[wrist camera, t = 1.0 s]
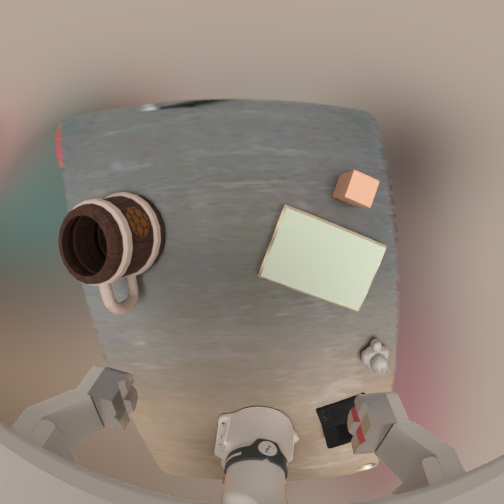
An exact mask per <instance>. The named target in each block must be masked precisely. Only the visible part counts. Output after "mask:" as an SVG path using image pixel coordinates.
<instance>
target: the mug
mask: <svg viewBox="0 0 504 504" xmlns="http://www.w3.org/2000/svg"><path fill="white" fill-rule="evenodd" d="M164 241H165V233H164V224H163V221H162V218H161V216H160V213H159V212H158V210H157V209H156V207H155V206H154V205H153V203H152V202H150V201H149V200H147V199H146V198H145V197H143V196H141V195H137V194H133V193H128V192H120V193H114V194H111V195H109V196H108V197H106V198H104V199H99V198H97V199H89V200H86V201H83V202H82V203H80V204H78V205H77V206H75V207H74V208H73V209H72V211H70V212H69V213H68V215H67V216H66V217H65V219H64V220H63V223H62V225H61V228H60V233H59V249H60V254H61V257H62V260H63V263H64V265H65V266H66V268H67V269H68V271H69V272H70V273H71V274H72V275H73V276H74V277H75V278H76V279H77V280H79V281H81V282H84V283H86V284H90V285H95V286H99V289H100V293H101V296H102V299H103V302H104V305H105V307H107V308H108V309H109V310H110V311H111V312H112V313H114V314H118V315H124V314H125V313H127V312H129V311H130V310H132V309H133V308H134V306H135V305H136V303H137V302H138V285H137V279H136V276H137V275H139V274H142V273H144V272H145V271H146V270H147V269H148V268H149V267H151V266H152V265H153V264H154V263H155V262H156V261H157V259H158V258H159V256H160V254H161V252H162V249H163V245H164ZM120 277H126V279H127V282H128V286H129V295H128V297H127V299H125V300H124V301H122V302H120V303H119V302H117V300H116V299H115V298H114V294H113V291H112V288H111V283H113V282H116V281H117V280H118V279H119V278H120Z"/></svg>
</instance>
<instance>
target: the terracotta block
mask: <svg viewBox="0 0 504 504" xmlns="http://www.w3.org/2000/svg"><path fill="white" fill-rule="evenodd" d="M378 184H379V181H378V180H376V179H374V178H371V177H369V176H367V175H365V174H363V173H361V172H358V171H356V170H352V171H349V172H346V173H343V174H341V175H340V176H339V179H338V182H337V184H336V187H335V190H334V193H333V195H332V197H333V198H336V199H338V200H341V201H343V202H345V203H348V204H350V205H352V206H358V207H368V208H370V207H371V205H372V202H373V199H374V196H375V193H376V190H377V187H378Z"/></svg>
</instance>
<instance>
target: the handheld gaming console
mask: <svg viewBox="0 0 504 504" xmlns="http://www.w3.org/2000/svg"><path fill="white" fill-rule="evenodd" d="M361 394H365V393H361ZM356 396H357V395H356ZM356 396H353V397H350V398H347V399H344V400H342V401H339V402H336V403H333V404H329V405H326V406H323V407H322V408H317V409H316V411H317V414H318V416H319V419H320V422H321V424H322V428H323V432H324V436H325V439H326V443H327V447H328V448H333V447H337V446H340V445H343V444H346V443H349V442H351V440H352V438H353V435H352V434H351V433H349V431H348V426H347V420H348V414H349V412H350V409H352V408H353V407H354V406H355V403H354V400H355V398H356ZM328 426H329V427H328ZM325 427H326V428H325Z"/></svg>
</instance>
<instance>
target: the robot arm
mask: <svg viewBox="0 0 504 504" xmlns="http://www.w3.org/2000/svg"><path fill="white" fill-rule="evenodd" d="M133 382H134V379H133V376H132V374H130V373H127V372H123V371H119V370H116V369H112V368H109V367H105V366H101V365H98V364H95V365H93V366H92V368H91V369H90V370H89V372H88V373H87V375H86V376H85V377H84V379H83V380H82V381H81V383H80V384H79V386H78V387H77V388H76V390H74V389H71V390H69V391H66V392H64V393H62V394H59V395H57V396H54V397H52V398H50V399H47V400H45V401H42V402H40V403H38V404H35V405H32V406H30V407H27V408H26V409H25V410H24V412H23V413H22V414H21V416H20V417H19V418H18V419H17V421H16V422H15V423H14V425H13V426H12V427H11V428H9V427H7V426H6V425H5V424H3V423H2V422H0V504H217V503H210V502H203V501H197V500H191V499H186V498H181V497H176V496H171V495H167V494H163V493H158V492H155V491H151V490H147V489H144V488H140V487H137V486H133V485H130V484H127V483H124V482H121V481H118V480H115V479H112V478H109V477H107V476H104V475H101V474H99V473H96V472H93V471H91V470H89V469H86V468H84V467H82V466H79V465H77V463H78V460H77V458H76V457H75V455H74V454H73V452H72V451H71V449H72V448H74V447H76V446H77V445H79V444H80V443H82V442H83V441H85V440H86V439H88V438H89V437H91V436H92V435H94V434H95V433H97V432H98V431H100V430H101V429H103V428H104V427H107V428H110V429H113V430H117V431H120V432H124V430H125V428H126V426H127V424H128V422H129V417H128V414H130V413H132V412H134V409H135V407H136V404H137V391H136V389H135V388H134V387H133V385H132V384H133ZM354 403H355V406H354V407H353V408H352V409H350V412H349V414H348V420H347V426H348V431H349V433H351V434H352V435H353V438H352V440H351V444H352V448H353V453H354V454H365V453H375V455H376V456H377V457H378V458H379V459H380V460H381V461H382V462H383V463H384V464H385V465H386V466H387V467H388V468H389V469H390V470H391V471H392V472H393V473H394V474H395V475H396V476H397V477H398V478H399V479H400V480H401V481H402V483H401V484H400V485H399V486H398V487H397V488H395V490H394V491H393V492H392V493H393V496H388V497H383V498H378V499H373V500H368V501H361V502H355V503H348V504H504V455H502V456H500V457H498V458H496V459H494V460H492V461H490V462H488V463H486V464H484V465H482V466H479V467H477V468H475V469H473V470H470V471H468V472H465V471H464V469H463V466H462V464H461V462H460V460H459V457H458V455H457V453H456V451H455V449H454V448H452V447H451V446H449V445H448V444H446V443H445V442H443V441H442V440H440V439H439V438H437V437H436V436H434V435H433V434H431V433H430V432H428V431H427V430H425V429H424V428H423V427H421V426H420V425H418V424H417V423H415V422H414V421H409V419H408V417H407V414H406V412H405V410H404V407H403V405H402V403H401V401H400V399H399V396H398V394H397V393H396V392H384V393H371V394H358V395H357V396H356V398H355V400H354ZM223 422H224V423H223ZM298 440H299V435H298V434H297V433H296V432H295V431H294V430H293V427H292V423H291V421H290V419H289V418H288V417H287V416H286V415H285V414H283V413H282V412H280V411H278V410H275V409H272V408H267V407H249V408H245V409H242V410H239V411H237V412H235V413H229V414H222V415H220V416H219V421H218V428H217V436H216V443H215V451H214V454H215V455H216V456H217V457H219V458H220V459H222V461H221V467H222V468H223V469H224V472H225V475H226V476H225V477H224V479H223V484H224V486H223V491H222V496H221V501H222V504H288V503H287V498H286V489H285V479H286V478H287V473H288V463H289V462H290V461H292V460H293V451H294V444H295V443H296V442H297V441H298Z"/></svg>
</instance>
